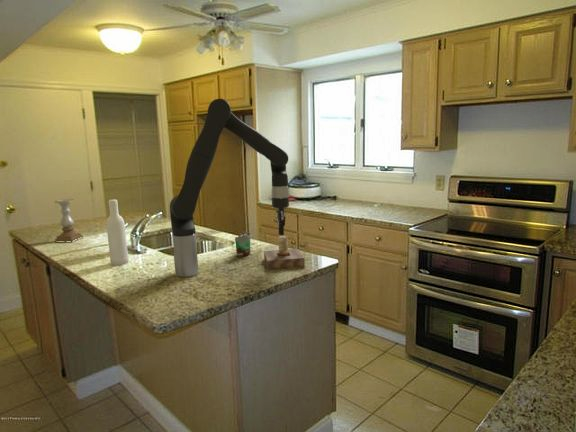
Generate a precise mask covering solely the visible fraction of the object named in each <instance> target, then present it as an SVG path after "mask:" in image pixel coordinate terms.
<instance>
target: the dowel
mask: <svg viewBox="0 0 576 432" xmlns="http://www.w3.org/2000/svg"><path fill="white" fill-rule="evenodd" d="M277 240H278V250H279V256H288V249H289V248H288V247H289V245H288V243H289V242H288V236H287V235H286V236H285V235H279V236H278V239H277Z"/></svg>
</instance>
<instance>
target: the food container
mask: <svg viewBox="0 0 576 432" xmlns="http://www.w3.org/2000/svg"><path fill="white" fill-rule="evenodd" d="M252 237H253V236H252V234H251V232H248V231H242V233H241V234H239V235H238V236H235V237H234V242H235V248H236V249H235V251H236V257H237V258H240V257H241V258H242V257H247V256H249V255H251V239H252Z"/></svg>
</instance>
